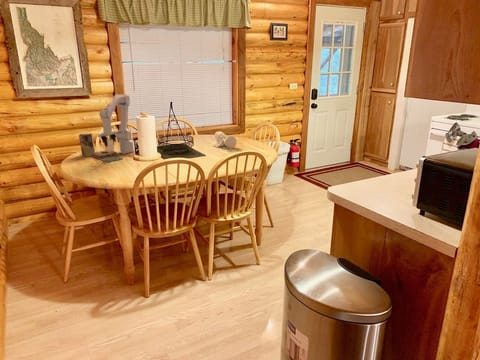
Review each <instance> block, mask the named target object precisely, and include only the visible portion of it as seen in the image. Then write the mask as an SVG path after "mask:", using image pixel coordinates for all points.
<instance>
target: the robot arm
mask: <svg viewBox="0 0 480 360" xmlns="http://www.w3.org/2000/svg"><path fill="white" fill-rule="evenodd" d="M130 102H131V100H130V96H129V95H128V94H114V96H113V99H112V102H111V103H107V105H106V106H105V107H104V109H101V110H100V111H99V118H100V121H101V122H102V131H103V133H99V134H97V138H100V139H101V140H102V141H103V143H104V147H105V146H107V139H108V137H109V139H113V144H114V145H115V140H117V141H118V142H119V149H120V150H118V152H117V153H120V154H123V155H125V154H129V153H133V152H135V150H134V144H133V141H132V140H131V139H132V134H131V130H130V129H128V118H129V107H130V104H131V103H130ZM117 106H118V107H120V122H119V123H120V127H119V129H117V131H116V130H115V131H113V129H112V121H111V118H112V115H113V113H114V111H115V110H116V107H117Z"/></svg>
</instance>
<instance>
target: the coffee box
mask: <svg viewBox="0 0 480 360" xmlns="http://www.w3.org/2000/svg"><path fill="white" fill-rule="evenodd" d="M93 137H94V136H93V133H80V134H78V140H79V145H80V149H81V156H82V157H94V156H93V153H94V152H96V149H95V143H94V138H93Z"/></svg>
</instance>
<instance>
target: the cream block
mask: <svg viewBox="0 0 480 360" xmlns="http://www.w3.org/2000/svg"><path fill="white" fill-rule="evenodd" d="M114 145H115V143H114V144H113V139H110V138H107V146H105V145H104V148H105V150H106V151H108V152H109V151H115V147H114ZM105 150H104V151H105Z"/></svg>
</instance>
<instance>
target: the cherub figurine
mask: <svg viewBox="0 0 480 360" xmlns="http://www.w3.org/2000/svg"><path fill="white" fill-rule="evenodd" d="M214 139H215V140H216V141H215V142H213V143H212V146H213V147H215V148H219V147H221V146H222V145H223V144H224V146H225V147H226V148H228V149H234V148H235V147H236V146H237V144H238V143H237V141H238V140H237V138H236V136H234V135H227V134H225V133H224V132H222V131H216V132H215V133H214Z"/></svg>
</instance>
